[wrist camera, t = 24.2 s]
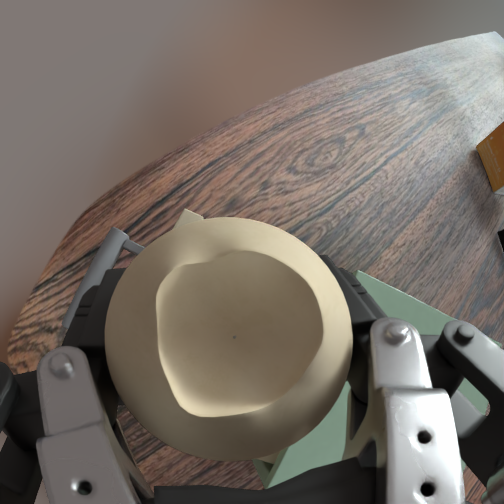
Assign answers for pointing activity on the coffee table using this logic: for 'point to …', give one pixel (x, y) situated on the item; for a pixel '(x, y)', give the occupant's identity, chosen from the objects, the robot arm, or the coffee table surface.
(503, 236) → the decorative object
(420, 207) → the coffee table surface
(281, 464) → the green drawer housing
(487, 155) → the small box
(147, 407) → the candle
